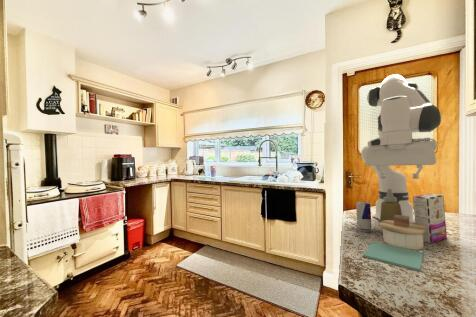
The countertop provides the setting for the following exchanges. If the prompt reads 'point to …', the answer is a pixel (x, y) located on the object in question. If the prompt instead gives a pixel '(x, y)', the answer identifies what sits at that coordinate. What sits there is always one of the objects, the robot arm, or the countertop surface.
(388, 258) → the rubber mat
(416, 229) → the oak lid
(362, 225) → the energy drink
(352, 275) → the countertop surface
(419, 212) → the candy bar box
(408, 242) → the ceramic bowl
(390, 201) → the squeeze bottle
